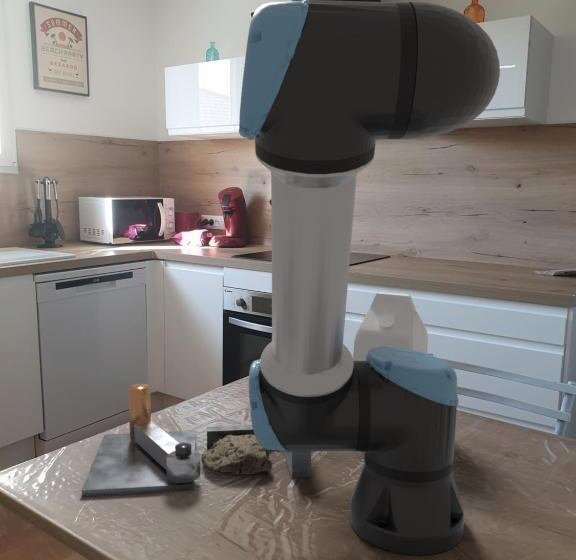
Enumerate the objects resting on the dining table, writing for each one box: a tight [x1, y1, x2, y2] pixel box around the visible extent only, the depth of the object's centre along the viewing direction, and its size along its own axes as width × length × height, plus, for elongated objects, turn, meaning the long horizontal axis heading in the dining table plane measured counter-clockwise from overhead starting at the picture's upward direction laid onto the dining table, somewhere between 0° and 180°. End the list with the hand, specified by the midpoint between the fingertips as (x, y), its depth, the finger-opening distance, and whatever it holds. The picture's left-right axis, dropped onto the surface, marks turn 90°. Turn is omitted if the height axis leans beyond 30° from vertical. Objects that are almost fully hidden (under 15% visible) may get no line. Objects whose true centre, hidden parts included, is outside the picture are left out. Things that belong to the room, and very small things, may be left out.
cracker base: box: [81, 424, 312, 498], centre depth 97 cm, size 20×34×7 cm, turn 98°
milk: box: [352, 291, 429, 361], centre depth 108 cm, size 12×12×26 cm
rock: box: [200, 435, 273, 476], centre depth 96 cm, size 11×11×4 cm
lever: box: [128, 383, 201, 483], centre depth 95 cm, size 21×5×9 cm, turn 36°
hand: (303, 292), depth 106 cm, fingers closed
